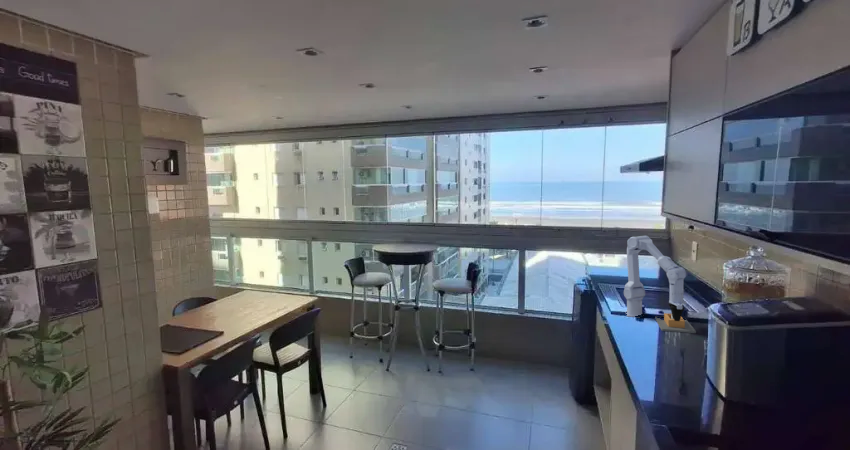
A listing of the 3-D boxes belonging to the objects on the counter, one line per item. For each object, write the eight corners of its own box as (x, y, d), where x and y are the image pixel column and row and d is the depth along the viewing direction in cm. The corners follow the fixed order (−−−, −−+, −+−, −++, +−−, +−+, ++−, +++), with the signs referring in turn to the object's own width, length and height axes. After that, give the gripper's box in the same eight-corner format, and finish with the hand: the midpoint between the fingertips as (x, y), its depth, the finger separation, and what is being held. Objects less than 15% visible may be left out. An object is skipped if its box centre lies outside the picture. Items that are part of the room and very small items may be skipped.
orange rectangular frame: (664, 319, 204) (664, 313, 204) (679, 320, 202) (679, 314, 202) (668, 326, 194) (668, 319, 194) (684, 327, 192) (684, 320, 191)
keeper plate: (654, 318, 210) (654, 306, 210) (685, 320, 205) (685, 308, 205) (661, 330, 192) (661, 318, 191) (696, 333, 187) (696, 320, 186)
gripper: (689, 296, 185) (689, 325, 186) (682, 289, 198) (682, 315, 199) (672, 295, 187) (672, 323, 188) (666, 288, 201) (666, 314, 202)
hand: (676, 319), depth 194 cm, fingers open, 3 cm apart
